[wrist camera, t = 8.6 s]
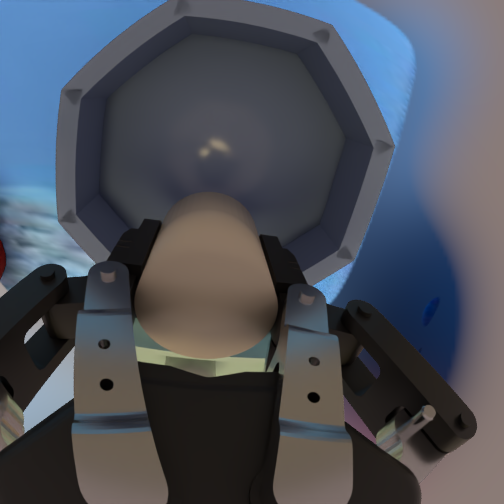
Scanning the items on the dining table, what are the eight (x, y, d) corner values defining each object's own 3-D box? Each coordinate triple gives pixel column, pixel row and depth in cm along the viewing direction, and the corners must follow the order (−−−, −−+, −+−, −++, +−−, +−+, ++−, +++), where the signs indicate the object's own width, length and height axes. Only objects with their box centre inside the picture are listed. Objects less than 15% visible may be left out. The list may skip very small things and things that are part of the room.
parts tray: (123, 403, 27) (119, 423, 24) (98, 310, 19) (87, 337, 17) (250, 414, 30) (253, 434, 28) (289, 331, 23) (297, 358, 20)
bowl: (91, 258, 17) (69, 293, 13) (112, 19, 9) (84, 0, 6) (308, 285, 20) (325, 322, 17) (375, 69, 13) (414, 65, 9)
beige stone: (158, 272, 13) (138, 351, 9) (164, 185, 11) (132, 241, 7) (246, 282, 14) (259, 362, 10) (266, 200, 12) (295, 261, 7)
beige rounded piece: (166, 370, 23) (162, 416, 19) (165, 340, 21) (159, 391, 17) (212, 375, 24) (214, 420, 20) (218, 346, 22) (221, 397, 17)
